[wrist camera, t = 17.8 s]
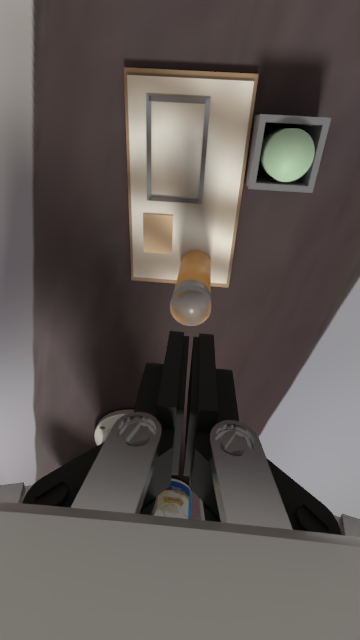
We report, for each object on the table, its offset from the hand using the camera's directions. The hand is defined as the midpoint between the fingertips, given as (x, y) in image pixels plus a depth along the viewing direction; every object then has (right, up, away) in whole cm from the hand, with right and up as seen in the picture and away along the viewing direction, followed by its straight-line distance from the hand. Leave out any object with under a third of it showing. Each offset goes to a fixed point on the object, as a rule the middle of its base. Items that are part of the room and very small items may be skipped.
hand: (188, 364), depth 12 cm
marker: (+1, +8, +22) cm, 23 cm away
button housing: (+9, +17, +16) cm, 25 cm away
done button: (+9, +17, +16) cm, 25 cm away
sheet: (0, +14, +19) cm, 23 cm away
